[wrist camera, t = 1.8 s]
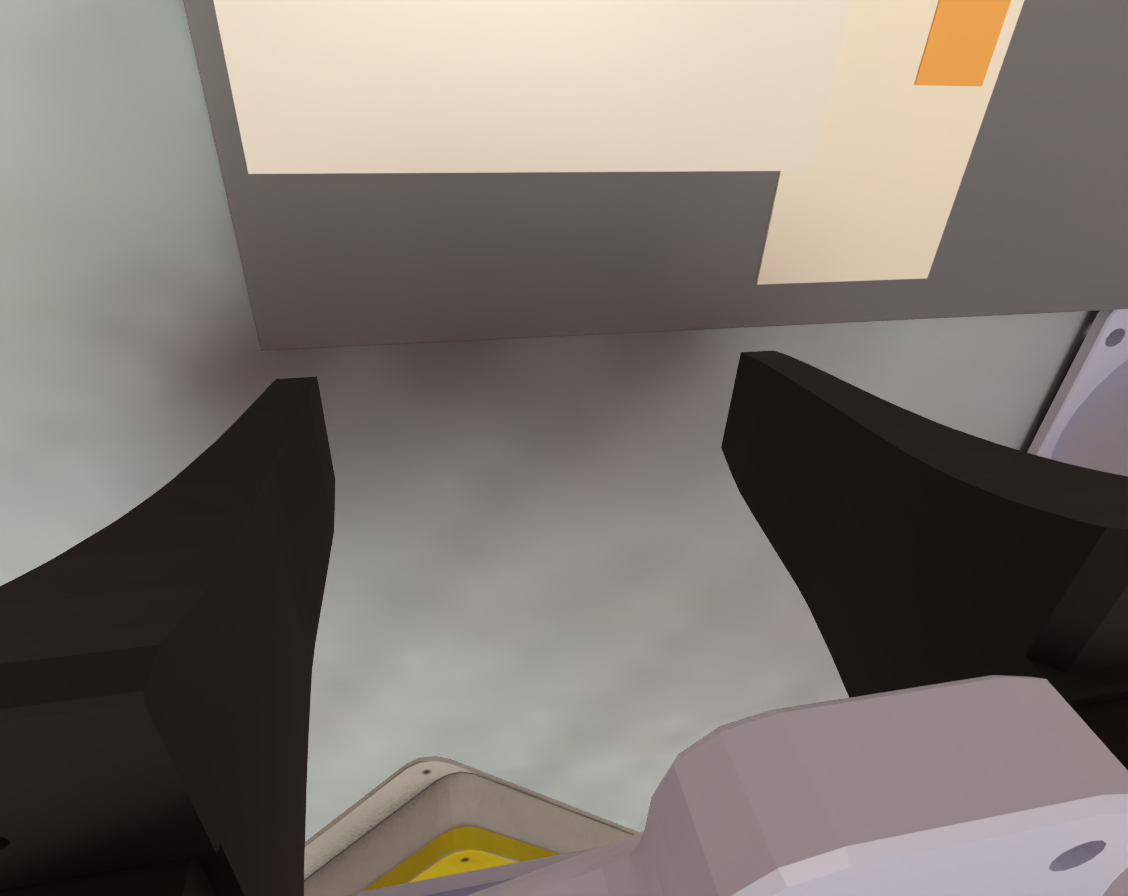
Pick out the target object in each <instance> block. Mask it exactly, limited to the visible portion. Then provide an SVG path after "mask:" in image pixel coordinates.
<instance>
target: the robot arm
mask: <svg viewBox="0 0 1128 896" xmlns="http://www.w3.org/2000/svg"><path fill="white" fill-rule="evenodd" d="M721 448H722V450H723V453H724V456H725V458H726V461H727V463H728V466H729V468H730V471H731V473H732V476H733V478H734V480H735V482H736V485H737V487H738V489H739V491H740V493H741V495H742V497H743V498H744V500H745V502H746V504H747V505H748V507H749V509H750V510H751V512H752V514H753V515H754V517H755V518H756V520H757V522H758V523H759V525H760V527H761V528H762V530H763V532H764V533H765V535H766V536H767V538H768V540H769V541H770V543H771V544H772V546H773V548H774V549H775V551H776V552H777V554H778V556H779V557H780V559H781V561H782V562H783V564H784V565H785V567H786V569H787V570H788V572H789V573H790V575H791V577H792V578H793V580H794V581H795V583H796V585H797V586H798V588H799V590H800V592H801V594H802V595H803V597H804V599H805V601H806V603H807V604H808V606H809V608H810V611H811V613H812V615H813V617H814V619H815V621H816V623H817V625H818V628H819V630H820V632H821V634H822V636H823V638H824V640H825V643H826V645H827V647H828V649H829V651H830V653H831V656H832V658H833V660H834V663H835V665H836V667H837V670H838V672H839V674H840V677H841V679H842V681H843V684H844V686H845V688H846V691H847V693H848V695H849V698H845V699H838V700H832V701H826V702H819V703H813V704H807V705H801V706H794V707H788V708H782V709H775V710H770V711H767V712H764V713H761V714H758V715H754V716H751V717H748V718H745V719H742V720H739V721H735V722H732V723H729V724H726V725H723V726H720V727H718V728H717V729H715V730H714V731H712V732H711V733H709V734H708V735H706V736H705V737H703V738H702V739H700V740H699V741H697V742H696V743H695V744H693V745H692V746H690V747H689V748H687V749H686V750H684V751H683V752H681V753H680V754H678V756H677V757H676V759H675V760H674V762H673V764H672V765H671V767H670V768H669V770H668V771H667V773H666V775H665V776H664V778H663V779H662V781H661V782H660V784H659V786H658V787H657V789H656V791H655V792H654V794H653V796H652V798H651V803H650V808H649V812H648V817H647V822H646V826H645V831H644V832H641V833H638V834H635V835H632V836H629V837H626V838H624V839H621V840H618V841H615V842H613V843H610V844H607V845H604V846H602V847H597V848H592V849H586V850H581V851H576V852H570V853H565V854H560V855H554V856H549V857H544V858H538V859H533V860H528V861H522V862H517V863H512V864H506V865H501V866H496V867H490V868H485V869H480V870H474V871H469V872H464V873H458V874H453V875H448V876H442V877H437V878H432V879H426V880H421V881H416V882H410V883H405V884H400V885H394V886H389V887H384V888H378V889H373V890H368V891H362V892H357V893H352V894H346V895H341V896H1128V309H1116V310H1100V311H1099V312H1098V314H1097V316H1096V318H1095V320H1094V322H1093V324H1092V325H1091V327H1090V329H1089V331H1088V333H1087V335H1086V337H1085V339H1084V341H1083V343H1082V345H1081V347H1080V349H1079V351H1078V353H1077V355H1076V357H1075V359H1074V361H1073V363H1072V365H1071V367H1070V369H1069V371H1068V373H1067V375H1066V377H1065V379H1064V381H1063V383H1062V385H1061V387H1060V388H1059V390H1058V392H1057V394H1056V396H1055V398H1054V400H1053V402H1052V404H1051V406H1050V408H1049V410H1048V412H1047V414H1046V416H1045V418H1044V420H1043V422H1042V424H1041V426H1040V428H1039V430H1038V432H1037V434H1036V436H1035V438H1034V440H1033V442H1032V444H1031V446H1030V448H1029V449H1028V451H1027V453H1026V452H1022V451H1019V450H1016V449H1012V448H1009V447H1006V446H1002V445H999V444H996V443H993V442H990V441H987V440H984V439H981V438H978V437H975V436H972V435H969V434H966V433H964V432H961V431H958V430H955V429H952V428H950V427H947V426H944V425H942V424H939V423H936V422H934V421H931V420H929V419H927V418H924V417H922V416H920V415H917V414H915V413H912V412H910V411H908V410H905V409H903V408H901V407H898V406H896V405H894V404H892V403H889V402H887V401H885V400H883V399H880V398H878V397H876V396H874V395H872V394H870V393H868V392H865V391H863V390H861V389H859V388H857V387H855V386H853V385H851V384H849V383H847V382H844V381H842V380H840V379H838V378H836V377H834V376H832V375H830V374H828V373H826V372H824V371H821V370H819V369H817V368H815V367H813V366H811V365H809V364H806V363H804V362H802V361H800V360H797V359H795V358H792V357H790V356H787V355H785V354H782V353H779V352H776V351H759V352H742V353H741V355H740V360H739V365H738V370H737V375H736V380H735V384H734V389H733V394H732V399H731V404H730V408H729V413H728V418H727V423H726V428H725V433H724V437H723V442H722V447H721ZM334 510H335V476H334V471H333V465H332V459H331V454H330V448H329V443H328V437H327V431H326V426H325V420H324V414H323V409H322V403H321V397H320V392H319V386H318V380H317V377H306V378H288V379H276V380H275V381H274V382H273V383H272V384H271V385H270V386H269V387H268V388H267V389H266V390H265V391H264V392H263V393H262V395H261V396H260V397H259V398H258V399H257V400H256V401H255V402H254V403H253V404H252V405H251V406H250V407H249V408H248V409H247V410H246V411H245V412H244V413H243V414H242V415H241V416H240V418H239V419H238V420H237V421H236V422H235V423H234V424H233V425H232V426H231V427H230V428H229V429H228V430H227V431H226V432H225V433H224V434H223V435H222V436H221V437H220V438H219V439H218V440H217V441H216V442H215V443H213V444H212V445H211V446H210V447H209V448H208V449H207V450H206V451H204V452H203V453H202V454H201V455H200V456H199V457H198V458H197V459H195V460H194V461H193V462H192V463H191V464H190V465H189V466H187V467H186V468H185V469H184V470H183V471H182V472H181V473H180V474H178V475H177V476H176V477H175V478H174V479H173V480H171V481H170V482H169V483H168V484H166V485H165V486H164V487H162V488H161V489H160V490H159V491H157V492H156V493H155V494H153V495H152V496H151V497H149V498H148V499H146V500H145V501H144V502H142V503H141V504H139V505H138V506H137V507H135V508H134V509H132V510H131V511H130V512H128V513H127V514H125V515H124V516H122V517H121V518H119V519H118V520H116V521H115V522H113V523H112V524H110V525H109V526H107V527H105V528H104V529H102V530H100V531H99V532H97V533H95V534H94V535H92V536H90V537H89V538H87V539H85V540H84V541H82V542H80V543H79V544H77V545H75V546H74V547H72V548H70V549H69V550H67V551H65V552H64V553H62V554H60V555H59V556H57V557H55V558H54V559H52V560H50V561H48V562H46V563H45V564H43V565H41V566H39V567H37V568H35V569H33V570H31V571H29V572H28V573H26V574H24V575H22V576H20V577H18V578H16V579H14V580H12V581H10V582H8V583H6V584H4V585H2V586H0V896H304V855H305V817H306V783H307V758H308V733H309V713H310V694H311V676H312V665H313V656H314V648H315V641H316V635H317V629H318V623H319V617H320V611H321V605H322V600H323V594H324V588H325V582H326V576H327V570H328V564H329V558H330V552H331V546H332V539H333V533H334Z"/></svg>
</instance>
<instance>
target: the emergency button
mask: <svg viewBox="0 0 1128 896" xmlns="http://www.w3.org/2000/svg"><path fill="white" fill-rule="evenodd" d="M638 833H639V832H637V831H634V830H632V829H629V828H627V827H624V826H621V825H619V824H616V823H614V822H611V821H609V820H606V819H603V818H601V817H598V816H596V815H593V814H590V813H588V812H585V811H583V810H580V809H578V808H575V807H572V806H570V805H567V804H565V803H562V802H560V801H557V800H554V799H552V798H549V797H547V796H544V795H542V794H539V793H536V792H534V791H531V790H529V789H526V788H523V787H521V786H518V785H516V784H513V783H511V782H508V781H505V780H503V779H500V778H498V777H495V776H493V775H490V774H487V773H485V772H482V771H480V770H477V769H474V768H472V767H469V766H467V765H464V764H462V763H459V762H456V761H454V760H451V759H447V758H442V757H437V756H433V757H424V758H418V759H416V760H414V761H412V762H410V763H407V764H406V765H404V766H403V767H402V768H401V769H399V770H398V771H397V772H395V773H394V774H393V775H392V776H390V777H389V778H388V779H386V780H385V781H384V782H383V783H381V784H380V785H379V786H377V787H376V788H375V789H373V790H372V791H371V792H370V793H368V794H367V795H366V796H364V797H363V798H362V799H361V800H359V801H358V802H357V803H355V804H354V805H353V806H352V807H350V808H349V809H348V810H346V811H345V812H344V813H343V814H341V815H340V816H339V817H337V818H336V819H335V820H333V821H332V822H331V823H330V824H328V825H327V826H326V827H324V828H323V829H322V830H321V831H319V832H318V833H317V834H315V835H314V836H313V837H312V838H310V839H309V840H308V841H306V842H305V855H304V896H341V895H346V894H352V893H357V892H362V891H368V890H373V889H378V888H384V887H389V886H394V885H400V884H405V883H410V882H416V881H421V880H426V879H432V878H437V877H442V876H448V875H453V874H458V873H464V872H469V871H474V870H480V869H485V868H490V867H496V866H501V865H506V864H512V863H517V862H522V861H528V860H533V859H538V858H544V857H549V856H554V855H560V854H565V853H570V852H576V851H581V850H586V849H592V848H597V847H602V846H604V845H607V844H610V843H613V842H615V841H618V840H621V839H624V838H626V837H629V836H632V835H635V834H638Z"/></svg>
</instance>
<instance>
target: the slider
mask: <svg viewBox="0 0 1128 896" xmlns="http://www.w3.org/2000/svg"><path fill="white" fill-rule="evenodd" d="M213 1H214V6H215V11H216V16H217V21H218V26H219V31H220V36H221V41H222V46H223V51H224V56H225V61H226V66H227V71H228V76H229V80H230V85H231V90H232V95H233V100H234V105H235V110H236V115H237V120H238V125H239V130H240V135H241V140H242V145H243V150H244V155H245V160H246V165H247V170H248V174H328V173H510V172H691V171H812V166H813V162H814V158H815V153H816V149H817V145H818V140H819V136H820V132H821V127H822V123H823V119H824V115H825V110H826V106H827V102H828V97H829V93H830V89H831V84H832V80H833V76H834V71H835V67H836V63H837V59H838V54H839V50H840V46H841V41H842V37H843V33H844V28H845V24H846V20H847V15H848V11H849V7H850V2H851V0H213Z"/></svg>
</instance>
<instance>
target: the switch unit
mask: <svg viewBox="0 0 1128 896" xmlns="http://www.w3.org/2000/svg"><path fill="white" fill-rule="evenodd" d="M183 1H184V6H185V10H186V15H187V19H188V24H189V28H190V33H191V37H192V42H193V46H194V51H195V55H196V60H197V64H198V69H199V73H200V78H201V82H202V87H203V91H204V96H205V100H206V105H207V109H208V114H209V118H210V123H211V127H212V132H213V136H214V141H215V145H216V150H217V154H218V159H219V163H220V168H221V172H222V177H223V181H224V186H225V190H226V195H227V199H228V204H229V208H230V212H231V217H232V221H233V226H234V230H235V235H236V239H237V244H238V248H239V253H240V257H241V262H242V266H243V271H244V275H245V280H246V284H247V289H248V293H249V298H250V302H251V307H252V311H253V316H254V320H255V325H256V329H257V334H258V338H259V343H260V347H261V350H280V349H301V348H322V347H343V346H364V345H385V344H406V343H427V342H448V341H469V340H489V339H510V338H531V337H552V336H573V335H594V334H615V333H636V332H657V331H678V330H698V329H719V328H740V327H761V326H782V325H803V324H824V323H845V322H866V321H887V320H907V319H928V318H949V317H970V316H991V315H1012V314H1033V313H1054V312H1075V311H1096V310H1116V309H1128V0H851V2H850V7H849V11H848V15H847V20H846V24H845V28H844V33H843V37H842V41H841V46H840V50H839V54H838V59H837V63H836V67H835V71H834V76H833V80H832V84H831V89H830V93H829V97H828V102H827V106H826V110H825V115H824V119H823V123H822V127H821V132H820V136H819V140H818V145H817V149H816V153H815V158H814V162H813V166H812V171H691V172H510V173H328V174H248V170H247V165H246V160H245V155H244V150H243V145H242V140H241V135H240V130H239V125H238V120H237V115H236V110H235V105H234V100H233V95H232V90H231V85H230V80H229V76H228V71H227V66H226V61H225V56H224V51H223V46H222V41H221V36H220V31H219V26H218V21H217V16H216V11H215V6H214V1H213V0H183Z"/></svg>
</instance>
